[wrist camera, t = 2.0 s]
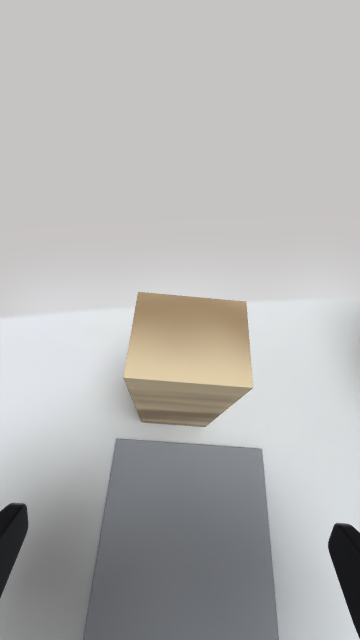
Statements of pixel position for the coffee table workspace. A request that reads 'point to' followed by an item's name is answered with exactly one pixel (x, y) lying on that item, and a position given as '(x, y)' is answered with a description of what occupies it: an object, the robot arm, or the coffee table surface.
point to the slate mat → (184, 546)
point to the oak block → (187, 358)
